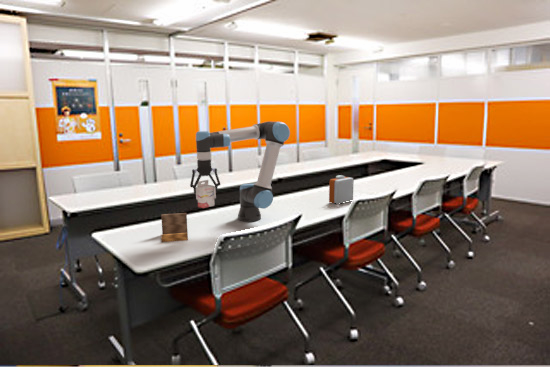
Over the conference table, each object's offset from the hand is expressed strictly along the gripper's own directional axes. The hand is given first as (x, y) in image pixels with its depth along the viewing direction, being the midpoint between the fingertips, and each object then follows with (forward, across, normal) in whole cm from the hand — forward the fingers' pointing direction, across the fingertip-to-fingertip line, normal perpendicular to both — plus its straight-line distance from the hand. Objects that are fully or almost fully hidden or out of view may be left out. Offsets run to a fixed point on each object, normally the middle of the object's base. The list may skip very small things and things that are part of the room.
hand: (206, 198), depth 222 cm
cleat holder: (+21, +18, +2) cm, 28 cm away
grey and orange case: (+23, -104, -51) cm, 118 cm away
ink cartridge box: (+5, 0, 0) cm, 5 cm away
